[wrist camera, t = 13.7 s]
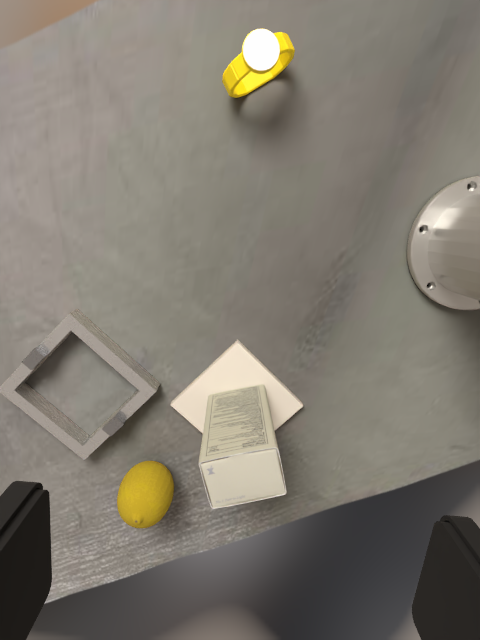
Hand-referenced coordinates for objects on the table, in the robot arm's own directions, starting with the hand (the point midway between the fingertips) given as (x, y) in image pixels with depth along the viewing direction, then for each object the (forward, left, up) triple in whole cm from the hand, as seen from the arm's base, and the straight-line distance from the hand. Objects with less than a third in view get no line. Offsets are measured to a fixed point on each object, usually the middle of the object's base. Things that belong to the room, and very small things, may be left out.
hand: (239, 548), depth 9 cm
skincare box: (+8, +8, -30) cm, 32 cm away
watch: (-15, -13, -31) cm, 36 cm away
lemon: (+20, +7, -31) cm, 37 cm away
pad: (+8, +8, -30) cm, 32 cm away
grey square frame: (+18, -5, -30) cm, 36 cm away
